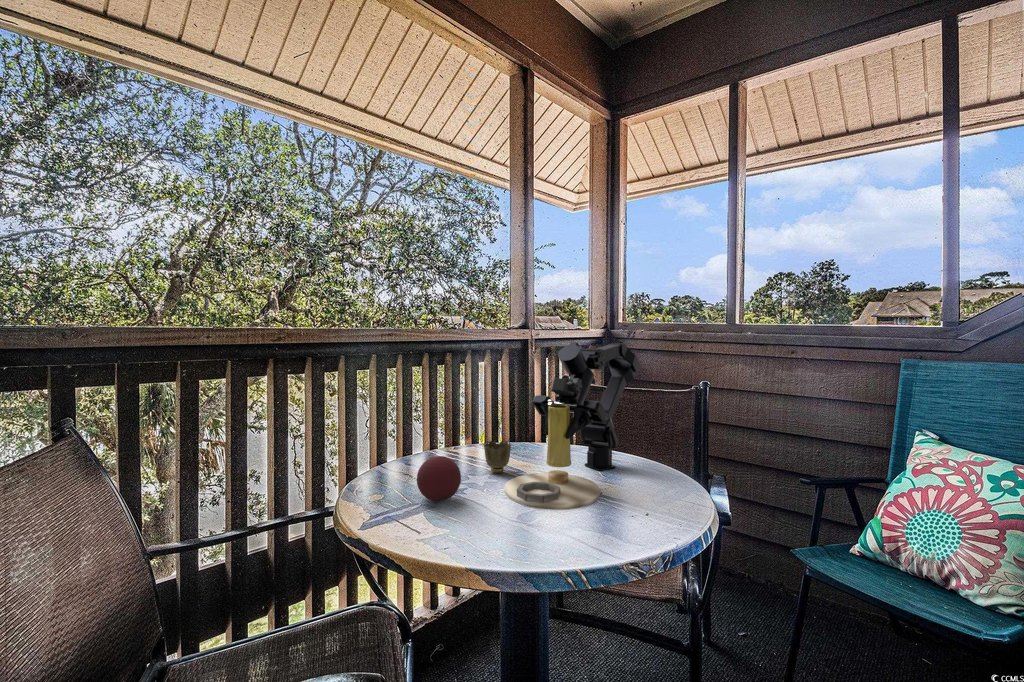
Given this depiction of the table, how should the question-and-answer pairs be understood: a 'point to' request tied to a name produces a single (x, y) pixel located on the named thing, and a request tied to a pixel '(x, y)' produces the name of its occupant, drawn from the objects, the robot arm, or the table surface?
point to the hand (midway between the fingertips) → (556, 436)
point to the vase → (558, 436)
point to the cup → (497, 455)
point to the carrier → (552, 490)
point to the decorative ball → (438, 478)
